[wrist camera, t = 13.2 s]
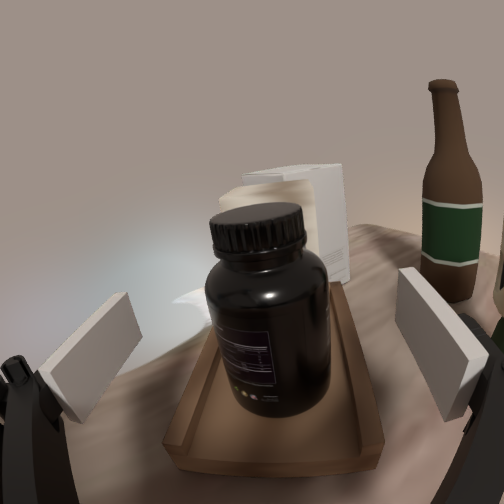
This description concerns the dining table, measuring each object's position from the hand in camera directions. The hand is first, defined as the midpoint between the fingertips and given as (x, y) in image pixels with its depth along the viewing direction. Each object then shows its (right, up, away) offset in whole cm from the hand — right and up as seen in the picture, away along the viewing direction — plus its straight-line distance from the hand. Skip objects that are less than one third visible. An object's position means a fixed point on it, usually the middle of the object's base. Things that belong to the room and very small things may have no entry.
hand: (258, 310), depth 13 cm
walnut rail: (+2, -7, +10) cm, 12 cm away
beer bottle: (+23, -2, +17) cm, 29 cm away
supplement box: (+6, -2, +25) cm, 26 cm away
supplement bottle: (+2, -7, +6) cm, 9 cm away
